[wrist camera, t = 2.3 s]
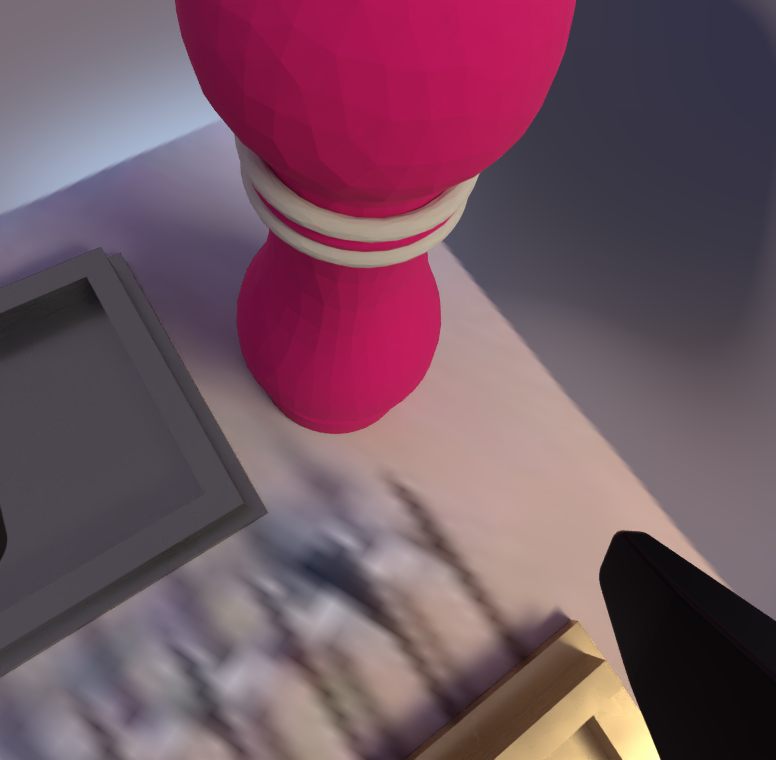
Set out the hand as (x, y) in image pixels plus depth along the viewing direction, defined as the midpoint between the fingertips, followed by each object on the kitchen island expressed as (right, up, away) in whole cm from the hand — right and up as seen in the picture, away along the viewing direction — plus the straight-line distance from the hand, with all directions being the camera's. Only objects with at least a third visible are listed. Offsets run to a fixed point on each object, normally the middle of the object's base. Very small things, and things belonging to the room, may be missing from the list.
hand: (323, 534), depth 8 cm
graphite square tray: (-13, -1, +12) cm, 18 cm away
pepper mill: (-1, +3, +16) cm, 16 cm away
